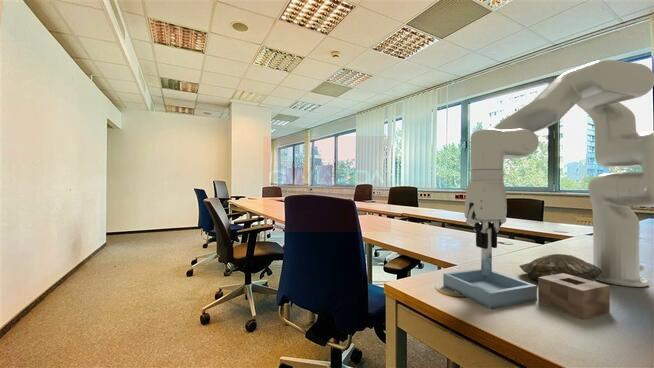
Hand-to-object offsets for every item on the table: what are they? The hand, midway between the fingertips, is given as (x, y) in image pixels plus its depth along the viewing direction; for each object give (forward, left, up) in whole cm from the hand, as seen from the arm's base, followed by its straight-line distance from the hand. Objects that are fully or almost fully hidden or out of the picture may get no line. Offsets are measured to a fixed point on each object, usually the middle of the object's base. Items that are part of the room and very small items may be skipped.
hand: (486, 246), depth 73 cm
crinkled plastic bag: (-28, -1, -12) cm, 31 cm away
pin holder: (-11, +13, -12) cm, 21 cm away
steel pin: (0, 0, -7) cm, 7 cm away
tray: (0, 0, -12) cm, 12 cm away
